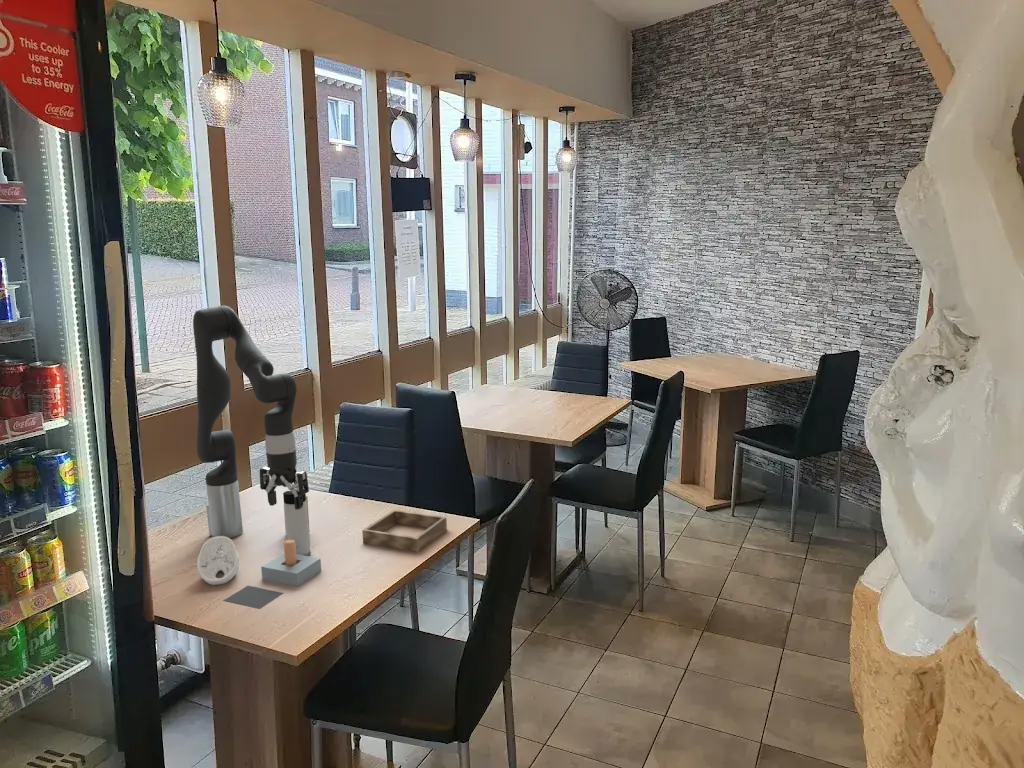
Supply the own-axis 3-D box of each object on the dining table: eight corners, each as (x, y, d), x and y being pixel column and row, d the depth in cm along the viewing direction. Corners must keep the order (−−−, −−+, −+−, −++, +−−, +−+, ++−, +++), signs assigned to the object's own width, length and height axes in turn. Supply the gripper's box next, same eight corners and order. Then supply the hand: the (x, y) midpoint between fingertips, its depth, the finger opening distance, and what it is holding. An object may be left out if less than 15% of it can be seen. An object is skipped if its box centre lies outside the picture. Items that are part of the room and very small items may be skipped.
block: (262, 580, 208) (261, 566, 207) (286, 565, 217) (285, 552, 216) (298, 587, 203) (296, 573, 202) (321, 571, 212) (320, 558, 211)
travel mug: (291, 561, 219) (285, 495, 215) (286, 553, 225) (280, 488, 221) (313, 556, 222) (307, 491, 218) (307, 548, 228) (302, 484, 224)
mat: (223, 602, 196) (222, 600, 196) (247, 586, 204) (247, 585, 204) (260, 610, 192) (259, 608, 191) (283, 594, 200) (283, 592, 200)
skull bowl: (243, 555, 221) (238, 530, 212) (242, 598, 211) (236, 574, 202) (205, 560, 218) (198, 534, 210) (201, 603, 208) (193, 578, 200)
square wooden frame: (363, 542, 231) (362, 530, 230) (394, 521, 247) (394, 509, 247) (417, 551, 224) (417, 538, 223) (446, 529, 240) (446, 517, 239)
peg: (284, 577, 209) (281, 543, 207) (291, 573, 212) (288, 539, 210) (293, 579, 208) (290, 544, 206) (300, 574, 211) (297, 540, 209)
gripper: (249, 450, 202) (255, 508, 205) (293, 455, 197) (298, 515, 200) (269, 442, 209) (274, 499, 212) (311, 447, 203) (316, 505, 207)
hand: (285, 506), depth 206 cm, fingers open, 8 cm apart
